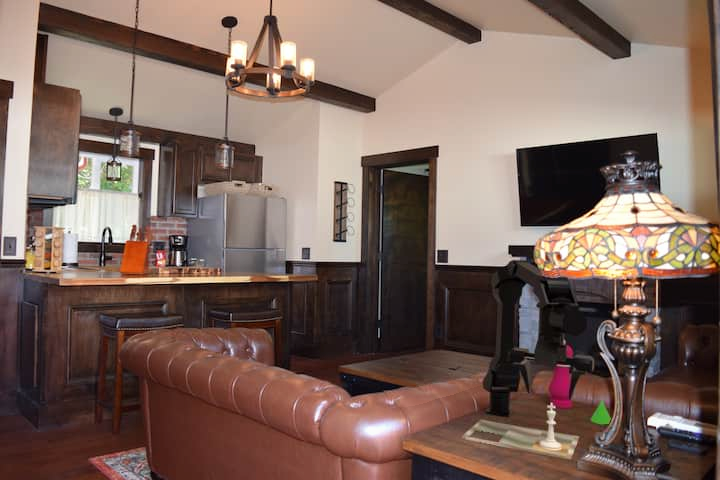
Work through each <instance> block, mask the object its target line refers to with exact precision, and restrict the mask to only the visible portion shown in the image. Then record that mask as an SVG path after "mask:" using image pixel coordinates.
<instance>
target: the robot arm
mask: <svg viewBox="0 0 720 480" xmlns="http://www.w3.org/2000/svg"><path fill="white" fill-rule="evenodd" d="M540 270H541V269H540V268H539V267H537V266H535V265H533V264H532V263H530V261H527V260H524V259H523V260H522V259H512V260H510V261H508V263H507V264H506V265H504V266H502V267H501V268H498V269H496V271H495V272H494V274H493V275H492V277H491V278H490V279H491V280H490V285H491V288H492V289H491V291H492V295H493V298H494V299H495V300H496V303H497V309H496V310H497V313H496V314H497V316H496V337H495V338H496V340H495V354H494V355H493V357H492V359H491V360H490V362H488V363H489V365H488V371H487V372H486V374H485V375H484V378H483V379H482V388H483V390H484V391H486V392H488V393H489V403H488V404H489V405H488V406H489V407H488V408H487V409H486V410H485V414H491V415H496V416H497V415H498V416H504V417H510V416H511V415H512V414H513V412H514V409H511V393H518V391H519V387H520V382H521V376H522V380H523V381H524V386H525V389H526V393H527V394H530V393H531V386H532V385H531V383H532V382H531V362H534V364H535V365H537V366H541V365H542V366H548V367H550V368H551V367H552V368H553V367H554V368H555V366H557V364H562V365H570V367H573V369H572V371H571V376H570V380H571V383H570V389H569V400H571V401H572V398H573V397H572V395H573V392H574V393H575V389H576V386H577V384H578V381H579V379H580V378H581V376H586V375H587V373H592V372H593V371H594V370H595V359H594V357H593V356H592V355H586V354H585V355H584V354H575V356H573V357H572V358H571V357H567V346H568V345H567V344H565V345H564V340H565V335H568V336H572V337H577V336H581V335H582V334H583V333H585V332H586V330H587V326H588V320H587V317H586V316H585V314H584V312H582V311H581V310H580V305H579V304H578V298H577V296H576V294H575V292H574V290H573V287H572V283H571V282H570V280H569V278H568V277H566V276H565V277H558V278H550V277H545V276H543V275H542V273H541V271H540ZM526 285H529V286H530V287H532V288H533V289H532V293H533V294H534V296H535V297H537V299H538V300H539V301H538V302H537V303H536V304H535V307H536V309H538V311H539V312H538V333H537V334H538V335H537V341H536V344H535V346H534V350H533V352H530V350H529V348H526V347H515V346H514V345H515V324H516V320H515V319H516V305H517V303H518V302H519V300H520V299H521V297H522V296H523V290H524V288H525V286H526ZM566 345H567V346H566ZM573 396H574V395H573ZM571 397H572V398H571Z"/></svg>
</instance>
